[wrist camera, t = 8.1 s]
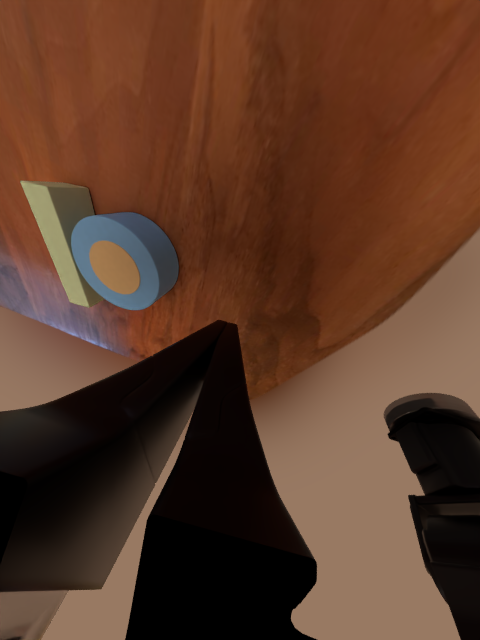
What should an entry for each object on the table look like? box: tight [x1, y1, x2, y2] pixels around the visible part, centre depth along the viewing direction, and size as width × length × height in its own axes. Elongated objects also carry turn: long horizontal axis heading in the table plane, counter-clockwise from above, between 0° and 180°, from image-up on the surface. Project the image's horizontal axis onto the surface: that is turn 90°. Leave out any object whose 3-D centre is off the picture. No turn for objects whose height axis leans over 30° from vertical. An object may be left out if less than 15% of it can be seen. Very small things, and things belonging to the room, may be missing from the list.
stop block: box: [20, 181, 104, 308], centre depth 16 cm, size 2×9×3 cm, turn 171°
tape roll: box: [71, 212, 179, 310], centre depth 15 cm, size 7×7×3 cm
